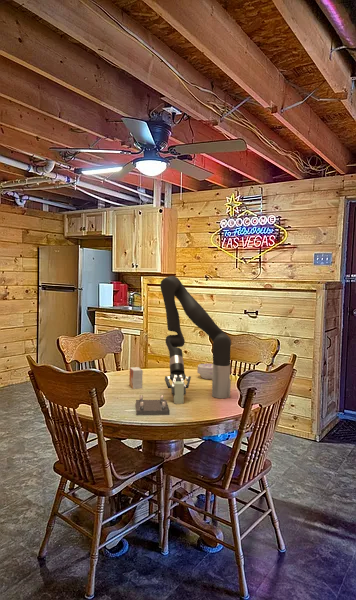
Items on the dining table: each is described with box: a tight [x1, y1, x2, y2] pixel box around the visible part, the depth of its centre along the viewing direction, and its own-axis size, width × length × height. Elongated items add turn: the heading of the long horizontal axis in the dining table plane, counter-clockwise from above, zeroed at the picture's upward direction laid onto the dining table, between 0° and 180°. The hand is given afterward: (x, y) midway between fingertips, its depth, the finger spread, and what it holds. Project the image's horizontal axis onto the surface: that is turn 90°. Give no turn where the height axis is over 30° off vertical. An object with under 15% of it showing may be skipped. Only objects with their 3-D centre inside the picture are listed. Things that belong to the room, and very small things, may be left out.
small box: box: [128, 366, 144, 390], centre depth 239 cm, size 8×6×10 cm
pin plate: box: [135, 394, 170, 416], centre depth 199 cm, size 15×17×5 cm
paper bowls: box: [196, 363, 213, 380], centre depth 266 cm, size 15×15×8 cm
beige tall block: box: [172, 381, 185, 405], centre depth 212 cm, size 4×5×10 cm
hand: (179, 394), depth 210 cm, fingers closed on beige tall block, 4 cm apart
